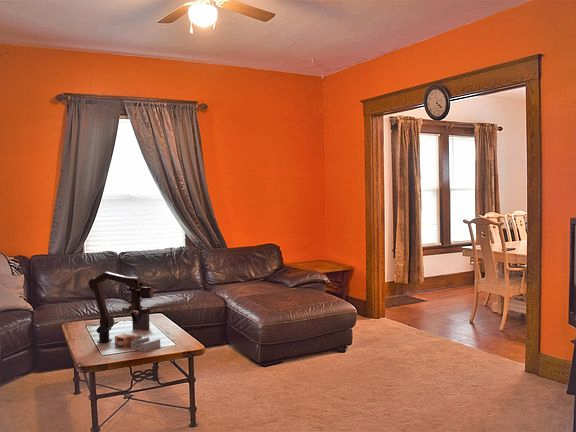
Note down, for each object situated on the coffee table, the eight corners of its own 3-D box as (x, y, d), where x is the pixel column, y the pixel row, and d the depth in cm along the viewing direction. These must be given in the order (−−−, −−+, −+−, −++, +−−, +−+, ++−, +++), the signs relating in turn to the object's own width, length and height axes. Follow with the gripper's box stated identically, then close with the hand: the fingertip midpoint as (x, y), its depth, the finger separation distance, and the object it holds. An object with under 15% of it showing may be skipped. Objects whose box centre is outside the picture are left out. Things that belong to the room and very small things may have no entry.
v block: (144, 351, 302) (144, 344, 302) (131, 348, 308) (130, 341, 308) (160, 346, 312) (160, 339, 312) (147, 343, 318) (146, 336, 318)
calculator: (150, 329, 354) (149, 306, 353) (146, 330, 349) (146, 308, 349) (135, 328, 357) (134, 306, 356) (132, 330, 352) (131, 307, 352)
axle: (121, 348, 310) (120, 341, 310) (116, 347, 312) (116, 340, 312) (142, 342, 323) (142, 335, 323) (137, 341, 326) (137, 334, 325)
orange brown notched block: (125, 348, 309) (125, 338, 309) (115, 346, 314) (114, 336, 314) (135, 345, 315) (134, 335, 315) (124, 343, 320) (124, 333, 320)
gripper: (114, 299, 320) (115, 325, 320) (135, 302, 309) (136, 328, 310) (129, 296, 329) (130, 321, 330) (150, 298, 319) (151, 324, 319)
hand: (136, 324), depth 322 cm, fingers closed
